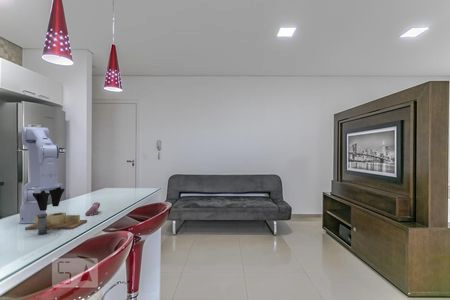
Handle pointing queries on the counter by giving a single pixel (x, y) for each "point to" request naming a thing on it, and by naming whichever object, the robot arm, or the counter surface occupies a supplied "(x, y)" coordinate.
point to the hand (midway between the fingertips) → (49, 208)
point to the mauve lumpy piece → (93, 209)
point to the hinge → (60, 219)
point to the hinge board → (57, 226)
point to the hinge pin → (42, 224)
